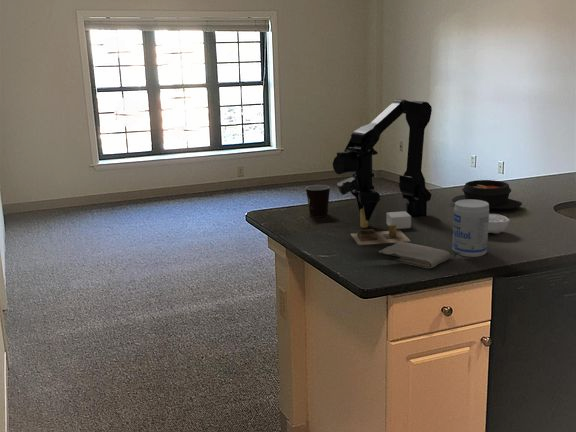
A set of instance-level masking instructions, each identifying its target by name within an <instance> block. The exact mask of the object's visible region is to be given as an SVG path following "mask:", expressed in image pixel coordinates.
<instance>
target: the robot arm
mask: <svg viewBox="0 0 576 432" xmlns="http://www.w3.org/2000/svg"><path fill="white" fill-rule="evenodd" d="M432 111H433V109H432V105H431V104H430V103H429V102H427V101H419V100H418V101H417V100H411V101H410V100H407V99H404V98H403V99H401V98H396V99H394V100H392V102H391V104H389V106H387V107H386V108H385V109H384V110H383V111H382V112H381V113H380V114H378V115H377V116H376V117H375V118H374V119H373V120H371V122H370V123H368V124H364V125H362V126H360V127H358V128H357V129H355V130H354V131H353V132H352V133H351V134H350V138H349V141H348V142H347V145H346V147H345V149H344V150H343V152H342V151H337V152H336V156H335V157H334V159H333V162H332V168H333V171H334V172H335V174H337V175H344V174H345V175H346V174H350V173H352V176H351V177H347V178H345V179H344V180H341V181H340V182H339V181H338V182H337V184H336V185H337V188H338V190H339V193H340V194H341V195H342V196H343V195H347V193H351V194H352V196H353V197H355V201H356V205H357V209H358V213H359V214H360V209H364V214H365V219H366V221H368V222H369V221H370V219H371V218H372V215H373V213H374V211H375V209H376V207H377V204H378V203H379V202H380V201H381V194H380V193H378V192H377V191H376V190H375V185H374V178H375V173H373V156H376V155H378V154H379V153H378V151H377V150H375V149H374V147H375V146H376V144H377V143H378V142H379V140H380V137H381V134H382V133H383V132H384V131H386V129H387V128H389V127H390V126H391V125H392V124H393V123H394V122H396V120H398V119H399V118H400V117H401V116H402V115H403V114H405V120H406V123H407V126H408V127H409V132H408V133H409V134H408V146H407V158H406V170H405V172H404V173H403V174H400V175H399V178H398V179H399V184H398V187H399V192H401V195H402V198H403V199H405V200H406V203H405V205H404V211H406V212H407V213H408V214H409V215H410V216H411V218H420V217H428V215H427V209H428V208H427V205H428V204H427V203H428V202H430V201H431V199H432V193H431V191H429V190H428V189H427V188H426V179H425V177H424V175H423V172H422V165H423V163H422V162H423V154H424V139H425V131H426V127H427V126H428V124H429V123H430V121H431V116H432Z"/></svg>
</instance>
